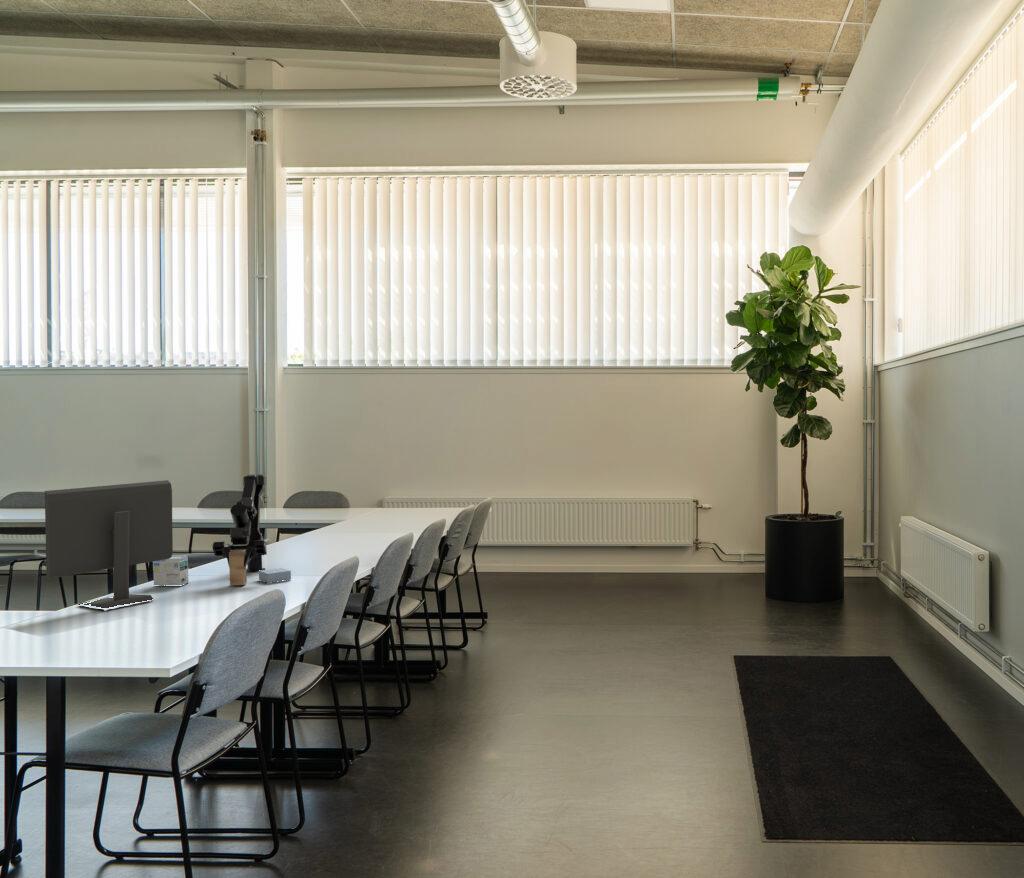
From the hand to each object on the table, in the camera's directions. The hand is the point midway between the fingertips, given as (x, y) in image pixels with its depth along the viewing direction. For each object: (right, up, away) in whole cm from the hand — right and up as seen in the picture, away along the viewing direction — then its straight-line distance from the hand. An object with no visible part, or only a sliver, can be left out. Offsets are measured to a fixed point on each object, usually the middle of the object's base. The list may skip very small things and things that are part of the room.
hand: (237, 566), depth 329 cm
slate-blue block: (+11, -7, +10) cm, 17 cm away
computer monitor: (-33, -9, -26) cm, 43 cm away
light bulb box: (-26, -8, +5) cm, 28 cm away
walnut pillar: (0, -7, +2) cm, 7 cm away
